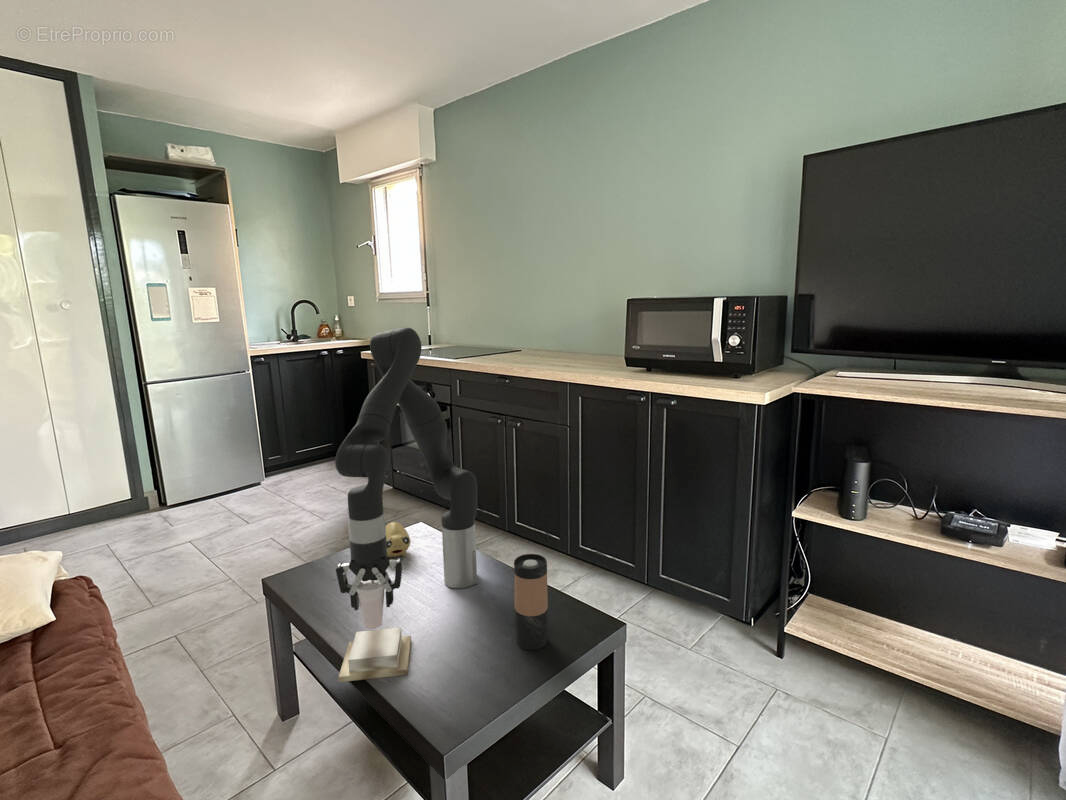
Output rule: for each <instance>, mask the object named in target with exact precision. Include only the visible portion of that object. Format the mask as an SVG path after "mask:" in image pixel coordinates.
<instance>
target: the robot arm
mask: <svg viewBox="0 0 1066 800" xmlns="http://www.w3.org/2000/svg"><path fill="white" fill-rule="evenodd" d="M369 351H370V354H371V357H372V359H373V361H374V363H375V365H376V367H377V369H378V370H379V373H380V374H381V375H382V378H381V379H380V380H379V381H378V383H377V384H376V385H375V386H374V387H373V388H372V390H370V391H369V393H368V395H367V396H366V398H365V399H364V402H363V404H362V406H361V408H360V412H359V415H358V417H357V421H356V423H355V425H354V426H353V427H352V429H351V430H350V432H349V433H348V434H347V436H346V437H345V438H344V440H343V441H342V443H341V444H340V446H339V447H338V449H337V451H336V454H335V455H336V456H335V460H334V461H335V462H334V463H335V468H336V471H337V473H339V475H340V476H343V477H346V478H347V477H348V478H367V484H362V485H357V486H355V487H353V488H351V489H350V490H349V491H348V492H347V508H348V509H347V511H348V534H347V535H348V538H349V539H348V541H349V553H350V562H346V563H344V562H342V561H341V562H339V563H338V565H337V566H336V569H335V573H336V578H337V581H338V586H339V590H340V593H341V594H346V593H347V594H349V598H350V606H351V608H353V610H354V611H359V608H360V601H359V597H358V593H357V592H356V587H358V586H359V584H360V582H361V580H363V581H368V580H374V581H375V580H379V582H380V583H381V585H384V588H385V591H384V594H385V604H386V608H390V607H391V605H393V604H394V598H395V597H394V590H395V589H400V588H401V583H402V574H403V560H404V559H403V558H402V557H397V559H391V558H390V557H388V555H387V541H386V520H385V515H384V502H383V501H384V500H383V499H384V498H383V494H384V487H385V480H386V476H387V475H386V474H387V473H388V467H389V463H390V456H389V452H388V451H387V448H386V447H385V446H384V445H382V444H380V443H377V442H382V441H383V440H385V439H386V438H387V437H388V435H389V432H390V428H391V425H392V423H393V419H394V416H395V412H396V409H397V406H398V405H399V408H400V410H401V412H402V415H403V417H404V419H405V422H406V424H407V426H408V428H409V430H410V432H411V435H412V437H413V440H414V441H415V442H416V444H417V447H418V449H419V451H420V454H421V456H422V457H423V459H424V460H423V461H424V462H425V464H426V467H427V469H428V473H429V476H430V480H431V483H432V486H433V488H434V490H435V491H436V493H437V495H438V496H440V497H441V498H442V499H444V500H448V501H450V502H449V503H450V504H449V506H450V509H449V510H447V511H445V512H444V513H443V514H442V516H441V537H442V539H441V540H442V555H443V557H442V558H443V559H442V560H443V577H444V580H443V581H444V584H445V585H446V586H447V587H448V588H451V589H466V588H469V587H471V586H474V585H478V564H477V548H476V523H475V521H476V516H477V512H478V496H479V495H478V491H479V490H478V488H479V487H478V482H477V478H476V475H475V474H474V473H473V472H471V471H470V470H466V469H463V468H460V467H457V466H456V465H455V463H454V462H453V460H452V458H451V456H450V453H449V451H448V449H447V438H448V426H447V422H446V420H445V417H444V415H443V412H442V411H441V408H440V405H439V404H438V402H437V401H436V400H435V399H434V398H433V397H432V396H431V395H429V394H428V393H427V392H426V391H425V390H423V389H422V387H419V386H418V385H417V384H416V383H415V382H414V381H413V380H411V377H412V375H413V373H414V371H415V369H416V367H417V365H418V363H419V360H420V359H421V355H422V341H421V339H420V336H419V335H418V333H417V331H416V330H414V329H413V328H412V327H399V328H394V329H389V330H386V331H382V332H377V333H375V334H373V335H372V336H371V338H370V340H369ZM389 566H391V569H392V570H393V571H394V572H395V574H394V580H392V578H390V575H389V573H388V571H387V570H388V568H389ZM349 570H350V571H351V572H352V573H353V575H355V578H354V580H353V582H352V584H349V581H348V576H347V573H348V571H349Z"/></svg>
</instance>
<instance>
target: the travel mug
mask: <svg viewBox="0 0 1066 800" xmlns="http://www.w3.org/2000/svg"><path fill="white" fill-rule="evenodd" d="M513 569H514V570H513V573H514V576H513V577H514V579H513V580H514V584H513V585H514V619H515V633H516V634H515V635H516V644H517V643H518V644H517V645H518V646H519V647H520V648H521V649H523V648H524V649H523V650H526V649H528V650H527V651H534V650H533V649H537V650H540V649H542V648H544V647H545V646H546V645H547V643H546V642H548V622H549V621H548V617H549V613H548V612H549V606H548V605H549V603H548V598H549V597H548V561H547V558H546V557H544V556H542V555H540V554H535V553H527V554H522V555H519V556H518V557H516V558H515V559H514V562H513ZM544 645H545V646H544ZM543 646H544V647H543ZM541 647H542V648H541ZM539 648H540V649H539ZM530 649H531V650H530Z"/></svg>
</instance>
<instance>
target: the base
mask: <svg viewBox="0 0 1066 800" xmlns="http://www.w3.org/2000/svg"><path fill="white" fill-rule="evenodd" d="M411 645H412V636H411V635H404V636H402V627H392V628H383V629H381V628H380V629H370V630H363V631H355V636H354V639H353V641H348V645H347V649H346V651H345V654H344V658H343V660H342V661H343V662H342V664H341V668H340V670H339V674H338V682H339V683H342V682H352V681H354V682H355V681H362V680H370V679H379V678H380V679H381V678H387V677H397V676H399V677H400V676H407V675H408V669H409V664H410V663H409V661H410V653H411Z"/></svg>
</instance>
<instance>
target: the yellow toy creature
mask: <svg viewBox="0 0 1066 800" xmlns="http://www.w3.org/2000/svg"><path fill="white" fill-rule="evenodd" d="M385 526H386V541H387V555H388V557H389V558H390V557H391V558H392V557H393V558H395V557H399V556H403V557H404V556H406V554H407V551H408V549H409V547H410V545H411V538H410V535H409V533H408V531H407V530H406V528H405V527H404V526H403V525H402V524H401V523H399V522H397V521H392V522H389V523H388V524H385Z"/></svg>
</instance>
